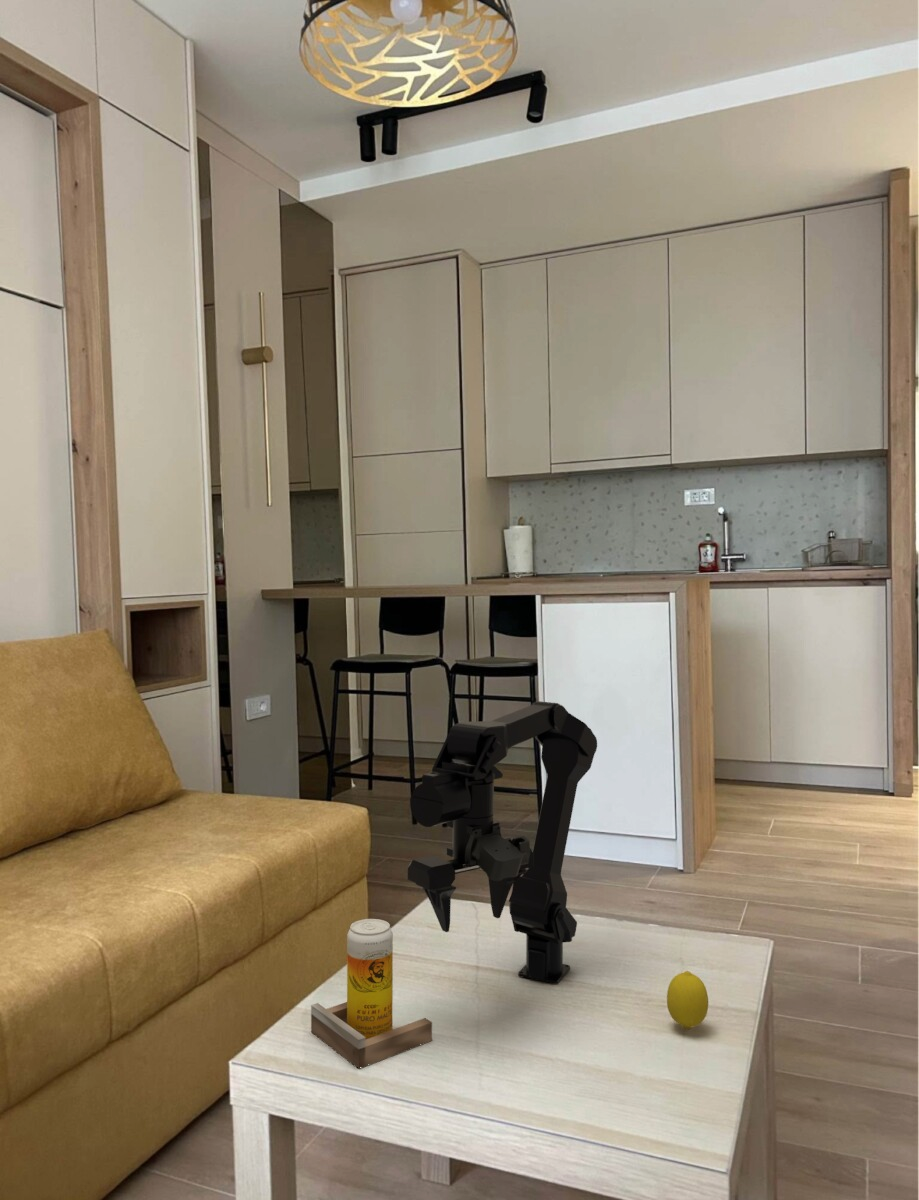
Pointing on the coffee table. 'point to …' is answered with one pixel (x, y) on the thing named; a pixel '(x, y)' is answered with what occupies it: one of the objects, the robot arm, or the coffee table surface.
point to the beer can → (370, 977)
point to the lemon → (687, 1000)
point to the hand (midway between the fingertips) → (471, 924)
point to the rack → (354, 1046)
